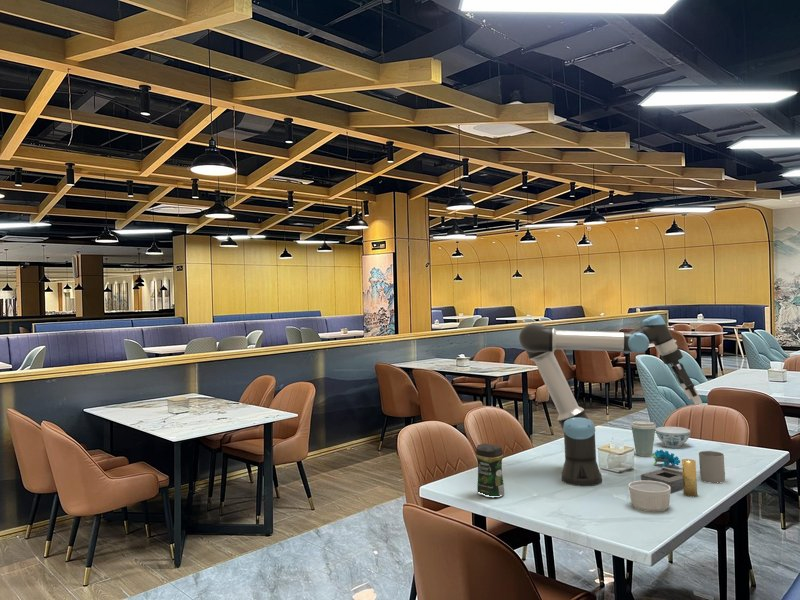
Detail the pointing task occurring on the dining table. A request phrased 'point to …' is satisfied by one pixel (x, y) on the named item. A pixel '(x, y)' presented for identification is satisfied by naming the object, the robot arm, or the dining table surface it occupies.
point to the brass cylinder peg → (689, 477)
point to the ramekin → (650, 495)
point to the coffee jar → (490, 470)
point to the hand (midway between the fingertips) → (695, 400)
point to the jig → (666, 478)
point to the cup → (712, 466)
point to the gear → (665, 458)
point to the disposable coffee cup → (643, 437)
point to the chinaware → (673, 435)
